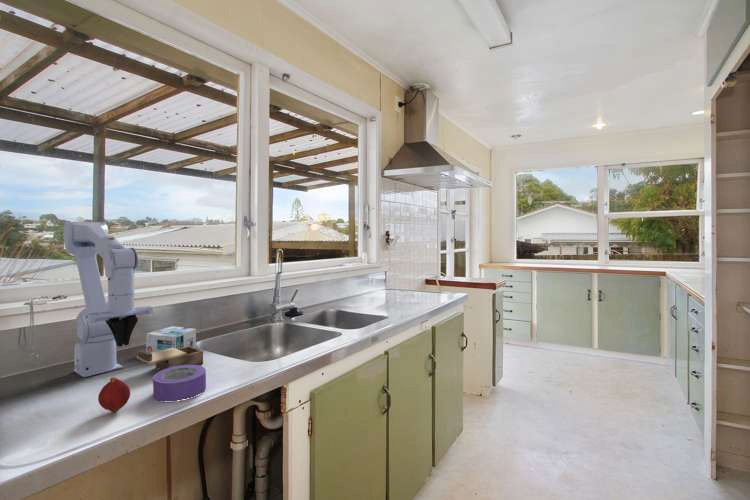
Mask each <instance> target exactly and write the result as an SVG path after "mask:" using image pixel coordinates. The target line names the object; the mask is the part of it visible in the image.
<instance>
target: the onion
mask: <svg viewBox="0 0 750 500" xmlns="http://www.w3.org/2000/svg"><path fill="white" fill-rule="evenodd" d="M109 380H110V381H107V383H106V384H105V385H103V387H102V388H101V390H100V392H99V393H98V397H97V399H98V400H97V401H98V404H99V406H101V408H103V409H104V410H107V411H109V412H110V413H114V414H115V413H116V412H119V410H121V409H122V408H123V407H125V405H126V404H127V403H128V401H129V399H130V398H131V388H130V386H129V385H128V384H127V383H126V382H125V381H124V380H121V379H119V378H117V377H116V376H112V377H111V378H109Z"/></svg>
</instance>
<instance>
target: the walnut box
mask: <svg viewBox="0 0 750 500" xmlns="http://www.w3.org/2000/svg"><path fill="white" fill-rule="evenodd" d="M178 350H181V351H183V352H186V353H187V355H184V356H180V357H177V358H173V359H169V360H165V361H161V362H157V363H155V368H156V369H158V370H160V371H162V370H164V369H167V368H171V367H175V366H180V365H199V366H202V365H203V364H204V350H201V349H198V348H196V347H195V348H193V347H190V346H187V347H183V348H179V349H178Z"/></svg>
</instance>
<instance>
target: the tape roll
mask: <svg viewBox="0 0 750 500" xmlns="http://www.w3.org/2000/svg"><path fill="white" fill-rule="evenodd" d="M206 373H207V370H206V368H205V367H204V366H202V365H180V366H175V367H171V368H167V369H164V370H160V371H158V372H156V373H155V374H154V375H153V377H152V384H153V385H152V390H153V391H152V392H153V393H152V394H153V399H154V400H155V401H157V402H159V401H163V402H162V403H165V402H164V401H177V400H182V399H187V398H191V397H194V396H196V395H198V394H200V393H202V392H203V393H205V391H206V390H207V378H206V377H207V374H206ZM205 389H206V390H205ZM203 393H202V394H203ZM194 398H195V397H194Z"/></svg>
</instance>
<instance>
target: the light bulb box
mask: <svg viewBox="0 0 750 500" xmlns="http://www.w3.org/2000/svg"><path fill="white" fill-rule="evenodd" d="M187 346H190V347H193V348H196V346H197V329H196V328H191V327H183V326H173V325H172V326H169V327H165V328H162V329H158V330H154V331H151V332H147V333H146V334H145V351H146V352H149V353H152V352H156V351H161V350H165V349H169V348H175V349H179V348H183V347H187Z"/></svg>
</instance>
